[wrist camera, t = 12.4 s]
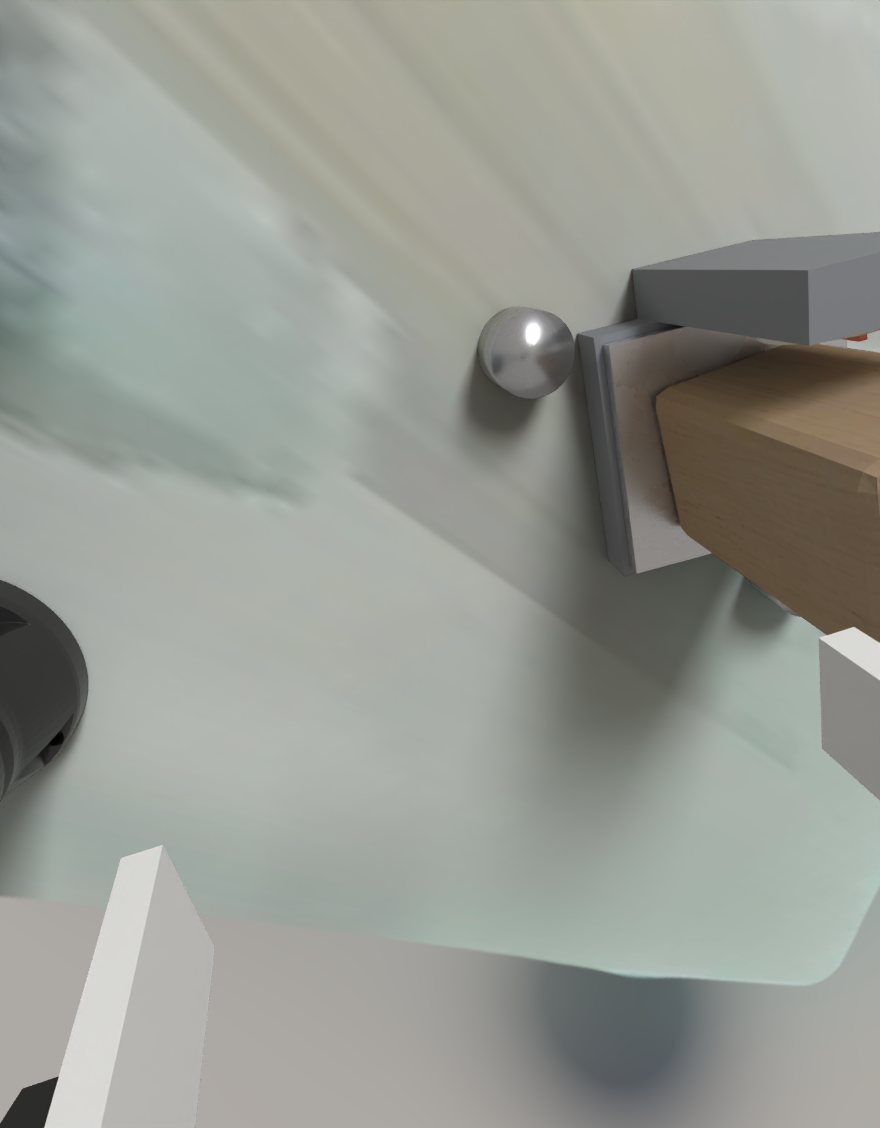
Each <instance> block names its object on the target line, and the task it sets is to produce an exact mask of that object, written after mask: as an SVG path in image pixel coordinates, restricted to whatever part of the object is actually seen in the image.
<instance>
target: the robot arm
mask: <svg viewBox="0 0 880 1128" xmlns="http://www.w3.org/2000/svg"><path fill="white" fill-rule="evenodd" d="M819 660H820V693H821V726H822V749H823V750H824V751H825V752H826V753H828V754H829V755H830V756H831V757H832V758H833V759H834V760H835V761H837V762H838V763H839V764H840V765H841V766H842V767H843V768H844V769H845V770H847V771H848V772H849V773H850V774H851V775H852V776H853V777H854V778H855V779H857V780H858V781H859V782H860V783H861V784H862V785H863V786H864V787H866V788H867V789H868V790H869V791H870V792H871V793H872V794H873V795H874V796H876V797H877V798H878V799H879V800H880V643H879V642H877V641H876V640H874V639H873V638H871V637H869V636H868V635H866V634H865V633H863V632H861V631H860V630H858V629H857V628H855V627H852V628H849V629H846V630H843V631H839V632H836V633H833V634H830V635H827V636H824V637H820V638H819ZM87 693H88V675H87V668H86V664H85V660H84V657H83V654H82V652H81V649H80V647H79V645H78V643H77V641H76V639H75V638H74V636H73V635H72V633H71V632H70V630H69V629H68V627H67V626H66V625H65V624H64V622H63V621H62V620H61V619H60V618H59V617H58V616H57V615H56V614H55V613H54V612H53V611H52V610H51V609H50V608H49V607H47V606H46V605H45V604H44V603H42V602H41V601H40V600H38V599H37V598H35V597H34V596H32V595H31V594H29V593H27V592H26V591H24V590H22V589H20V588H18V587H16V586H14V585H11V584H9V583H7V582H4V581H2V580H0V801H1V799H2V798H3V796H5V795H6V794H7V793H9V792H10V791H12V790H13V789H14V788H16V787H17V786H18V785H20V784H21V783H23V782H24V781H25V780H27V779H28V778H30V777H31V776H32V775H34V774H35V773H36V772H38V771H39V770H41V769H42V768H43V767H45V766H46V765H47V764H48V763H49V762H50V761H52V760H53V759H54V758H55V757H56V755H57V754H58V753H59V752H60V751H61V750H62V748H63V747H64V746H65V745H66V743H67V742H68V740H69V738H70V737H71V735H72V733H73V731H74V729H75V727H76V725H77V723H78V721H79V720H80V718H81V715H82V713H83V710H84V707H85V704H86V700H87ZM214 952H215V948H214V946H213V944H212V942H211V940H210V938H209V936H208V934H207V932H206V930H205V928H204V926H203V924H202V922H201V920H200V918H199V916H198V914H197V912H196V910H195V908H194V906H193V904H192V902H191V900H190V898H189V896H188V894H187V892H186V890H185V888H184V886H183V884H182V882H181V880H180V878H179V876H178V874H177V872H176V870H175V868H174V866H173V864H172V862H171V860H170V858H169V856H168V854H167V852H166V850H165V848H164V846H163V845H161V846H158V847H155V848H151V849H148V850H145V851H142V852H139V853H136V854H132V855H129V856H126V857H123V858H121V861H120V864H119V868H118V871H117V875H116V878H115V882H114V885H113V889H112V892H111V896H110V899H109V903H108V906H107V910H106V913H105V917H104V920H103V924H102V927H101V931H100V934H99V938H98V941H97V945H96V948H95V952H94V956H93V959H92V962H91V966H90V969H89V973H88V976H87V980H86V983H85V987H84V990H83V994H82V997H81V1001H80V1005H79V1008H78V1012H77V1015H76V1018H75V1022H74V1025H73V1029H72V1032H71V1036H70V1039H69V1043H68V1047H67V1050H66V1054H65V1057H64V1060H63V1064H62V1067H61V1071H60V1074H59V1077H56V1078H53V1079H50V1080H47V1081H44V1082H41V1083H38V1084H35V1085H32V1086H29V1087H26V1088H23V1089H22V1090H21V1092H20V1094H19V1095H18V1097H17V1098H16V1100H15V1101H14V1103H13V1104H12V1106H11V1108H10V1109H9V1111H8V1112H7V1114H6V1116H5V1117H4V1118H3V1120H2V1122H1V1123H0V1128H195V1125H196V1116H197V1107H198V1098H199V1089H200V1080H201V1071H202V1061H203V1052H204V1043H205V1034H206V1025H207V1016H208V1005H209V998H210V988H211V979H212V970H213V961H214Z"/></svg>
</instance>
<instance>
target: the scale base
mask: <svg viewBox="0 0 880 1128" xmlns="http://www.w3.org/2000/svg"><path fill="white" fill-rule="evenodd" d="M632 274H633V284H634V293H635V303H636V312H637V319H635V320H631V321H627V322H623V323H619V324H615V325H611V326H606V327H602V328H598V329H594V330H590V331H586V332H582V333H578V334H577V335H578V342H579V349H580V357H581V364H582V371H583V379H584V386H585V393H586V401H587V408H588V415H589V422H590V430H591V437H592V444H593V452H594V459H595V466H596V474H597V481H598V488H599V495H600V503H601V510H602V517H603V525H604V532H605V539H606V547H607V554H608V561H609V562H611V563H612V564H613V565H614V566H615V567H616V568H617V569H618V570H619V571H620V572H621V573H622V574H623V575H624V576H627V575H631V574H635V573H636V572H634V571H633V570H632V569H631V565H630V557H629V549H628V541H627V533H626V525H625V517H624V509H623V501H622V493H621V485H620V476H619V468H618V460H617V452H616V444H615V436H614V428H613V420H612V412H611V404H610V396H609V388H608V380H607V372H606V364H605V356H604V348H603V344H606V343H610V342H614V341H618V340H622V339H626V338H630V337H635V336H639V335H643V334H647V333H651V332H655V331H659V330H663V329H667V328H671V327H675V326H686V327H692V328H699V329H705V330H711V331H718V332H724V333H731V334H737V335H743V336H750V337H756V338H757V341H759V342H761V343H765V344H775V345H793V344H801V345H807V346H811V345H815V344H819V343H823V342H827V341H833V340H839V339H844V340H852V341H863V340H866V339H867V334H868V333H872V332H875V331H878V330H880V232H874V233H858V234H842V235H827V236H811V237H795V238H780V239H764V240H752V241H748V242H743V243H739V244H735V245H731V246H727V247H723V248H719V249H715V250H710V251H706V252H702V253H698V254H694V255H690V256H686V257H681V258H677V259H673V260H669V261H665V262H661V263H657V264H653V265H648V266H644V267H640V268H636V269H632Z"/></svg>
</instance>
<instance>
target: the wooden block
mask: <svg viewBox="0 0 880 1128" xmlns="http://www.w3.org/2000/svg"><path fill="white" fill-rule="evenodd" d="M656 412H657V416H658V421H659V426H660V430H661V435H662V440H663V445H664V449H665V454H666V459H667V464H668V468H669V473H670V478H671V483H672V487H673V492H674V497H675V501H676V506H677V511H678V516H679V520H680V525H681V528H682V529H683V531H684V532H685V533H686V534H687V536H689V537H690V538H692V539H693V540H694V541H696V542H697V543H699V544H700V545H701V546H703V547H704V548H706V549H707V550H708V551H710V552H711V553H713V554H714V555H715V556H717V557H718V558H720V559H721V560H722V561H724V562H725V563H727V564H728V565H730V566H731V567H732V568H734V569H735V570H737V571H738V572H739V573H741V574H742V575H744V576H745V577H746V578H748V579H749V580H751V581H752V582H753V583H755V584H756V585H758V586H759V587H760V588H762V589H763V590H765V591H766V592H767V593H769V594H770V595H772V596H773V597H774V598H776V599H777V600H779V601H780V602H781V603H783V604H784V605H786V606H787V607H788V608H790V609H791V610H793V611H794V612H795V613H797V614H798V615H800V616H801V617H802V618H804V619H805V620H807V621H808V622H809V623H811V624H812V625H814V626H815V627H816V628H818V629H819V630H821V631H822V632H823V633H825V634H826V635H830V634H833V633H836V632H839V631H843V630H846V629H849V628H852V627H855V628H857V629H858V630H860V631H861V632H863V633H865V634H866V635H868V636H869V637H871V638H873V639H874V640H876V641H877V642H879V643H880V353H878V352H871V351H865V350H858V349H851V348H844V347H838V346H831V345H824V344H815V345H811V346H807V345H801V344H793V345H781V346H778V347H776V348H773V349H770V350H767V351H765V352H762V353H759V354H757V355H754V356H751V357H749V358H746V359H743V360H740V361H738V362H735V363H732V364H730V365H727V366H724V367H722V368H719V369H716V370H713V371H711V372H708V373H705V374H703V375H700V376H697V377H695V378H692V379H689V380H687V381H684V382H681V383H678V384H676V385H673V386H670V387H668V388H667V389H665V390H664V391H662V392H661V393H660V394H658V395H657V396H656Z"/></svg>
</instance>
